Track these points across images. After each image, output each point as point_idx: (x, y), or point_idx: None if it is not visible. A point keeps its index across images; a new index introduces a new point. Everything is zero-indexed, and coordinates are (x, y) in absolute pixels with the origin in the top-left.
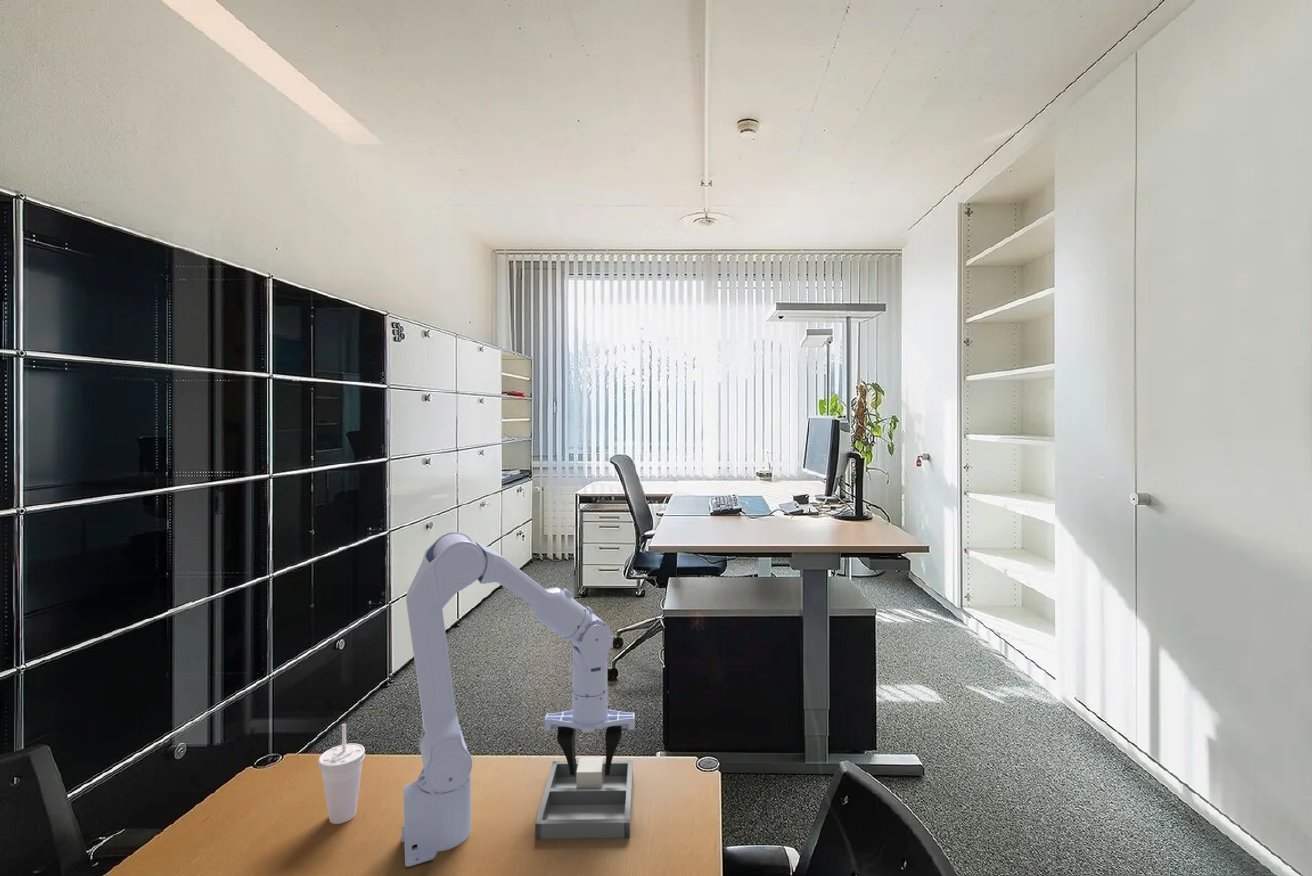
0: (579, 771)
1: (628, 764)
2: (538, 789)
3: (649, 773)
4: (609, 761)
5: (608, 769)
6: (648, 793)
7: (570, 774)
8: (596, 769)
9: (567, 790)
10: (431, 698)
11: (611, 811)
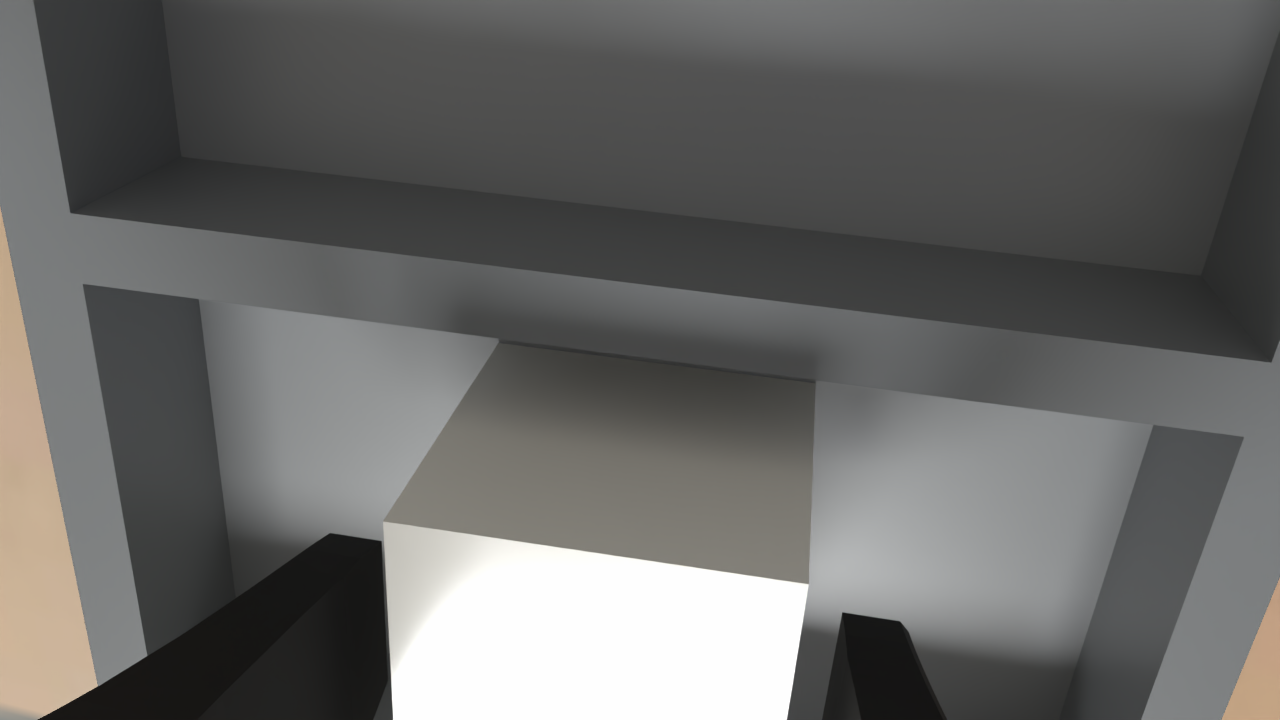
0: (754, 598)
1: None
2: (1277, 644)
3: (74, 658)
4: (194, 648)
5: (287, 570)
6: (25, 377)
7: (905, 630)
8: (470, 594)
9: (962, 341)
10: None
11: (345, 35)
